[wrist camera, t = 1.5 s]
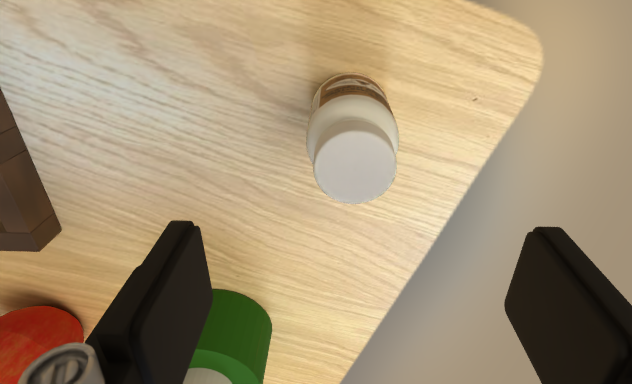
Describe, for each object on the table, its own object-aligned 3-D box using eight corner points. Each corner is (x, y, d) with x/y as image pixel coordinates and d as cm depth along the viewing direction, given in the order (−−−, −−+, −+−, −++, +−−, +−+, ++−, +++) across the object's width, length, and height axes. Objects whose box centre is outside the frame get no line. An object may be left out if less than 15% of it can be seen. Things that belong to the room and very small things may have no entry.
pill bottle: (396, 78, 21) (423, 129, 14) (376, 149, 23) (392, 221, 17) (318, 63, 21) (310, 108, 14) (306, 136, 23) (294, 205, 16)
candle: (289, 341, 33) (272, 473, 24) (210, 364, 35) (170, 492, 26) (239, 276, 29) (199, 405, 21) (155, 306, 31) (87, 433, 23)
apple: (30, 268, 30) (-106, 402, 21) (119, 323, 33) (34, 462, 23) (-12, 314, 33) (-147, 449, 24) (73, 361, 36) (-19, 497, 27)
